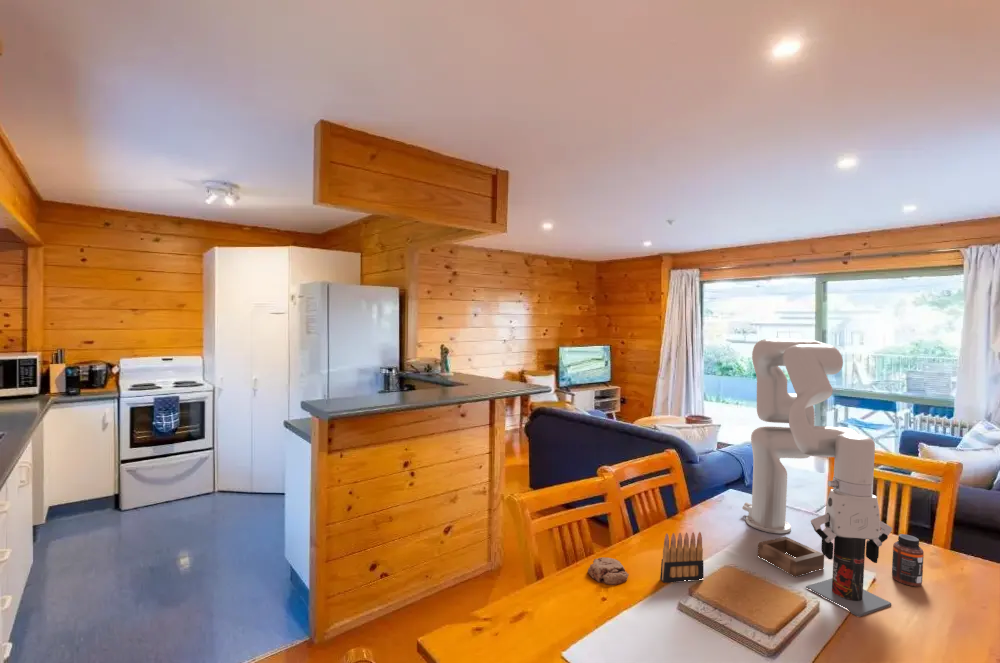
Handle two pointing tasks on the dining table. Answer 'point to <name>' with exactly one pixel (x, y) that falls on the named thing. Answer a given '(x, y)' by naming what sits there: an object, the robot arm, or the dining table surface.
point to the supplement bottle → (907, 561)
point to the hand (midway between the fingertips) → (849, 558)
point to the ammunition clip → (682, 559)
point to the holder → (797, 566)
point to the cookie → (608, 571)
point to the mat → (855, 607)
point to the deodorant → (848, 568)
